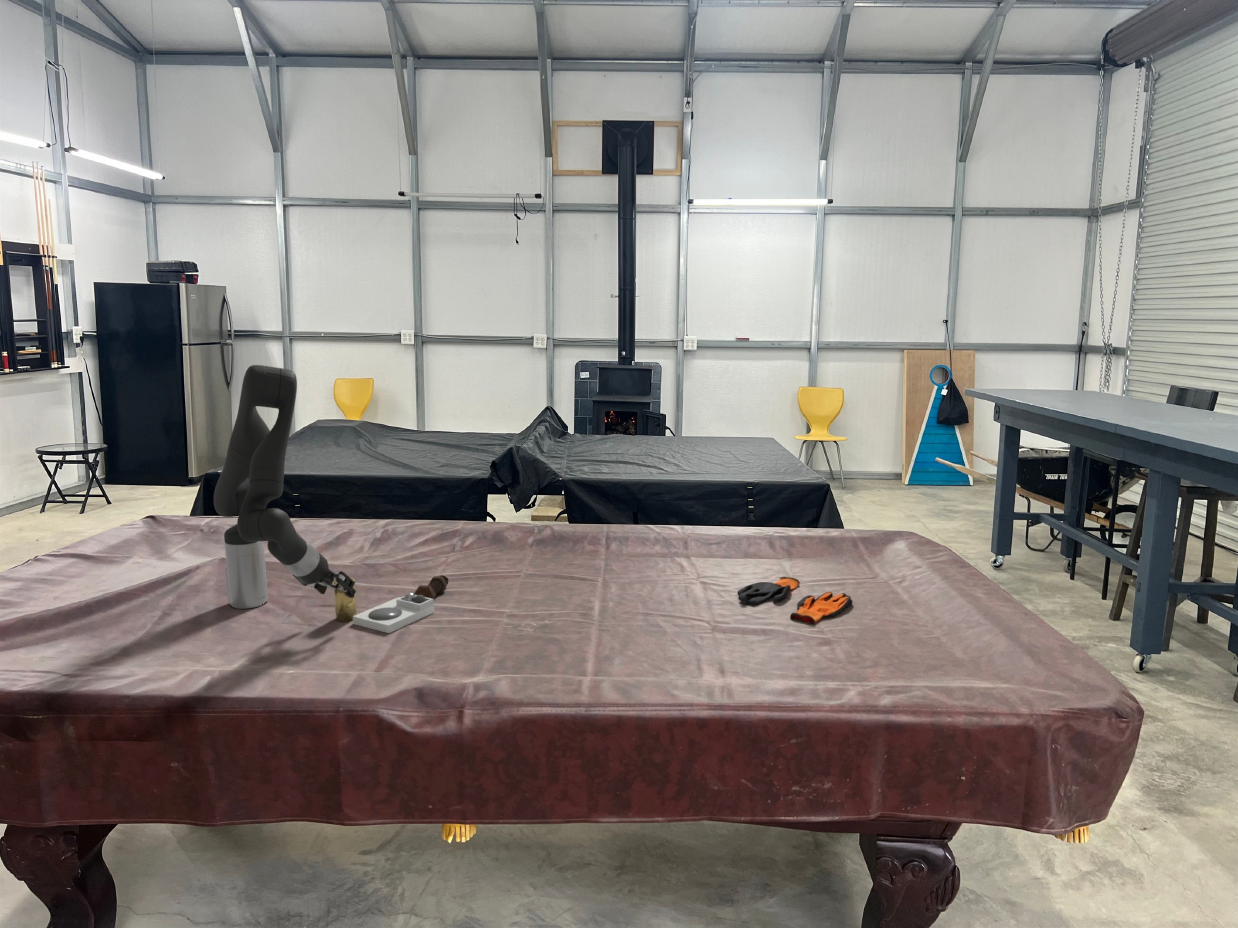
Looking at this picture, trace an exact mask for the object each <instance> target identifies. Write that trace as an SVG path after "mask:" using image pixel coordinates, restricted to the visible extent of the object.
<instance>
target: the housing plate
mask: <svg viewBox="0 0 1238 928" xmlns="http://www.w3.org/2000/svg"><path fill="white" fill-rule="evenodd" d="M404 596H405V595H404ZM404 596H401V597H400V596H399V597H396V598H393V599H391V600H388V601H387V602H384V603H382V604H379V605H376V606H375V607H371V608H369V609H366V610H365V611H362V612H360V613H357V615H355V616H353V620H352V624H353V625H355V626H359V627H363V628H368V629H371V630H375V631H379V632H383V633H386V634H392V633H393V632H395V631H397V630H399V629H401V628H404V627H406V626H408V625H410V624H412V623H415V622H417V621H419V620H421V619H423V618H425V617H428V616H430V615H432V614H434V613H435V605H434V604H435V603H434V601H435V600H433V599H431V598H427V597H425V598H426V601H425V602H423V603H420V604H418V603H414V602H410V601H405V600H404ZM415 596H417V595H415Z"/></svg>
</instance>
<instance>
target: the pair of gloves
mask: <svg viewBox="0 0 1238 928" xmlns="http://www.w3.org/2000/svg"><path fill="white" fill-rule="evenodd" d="M800 584H801V583H800V581H799V580H798V578H795V577H790V576H789V577H786V576H781V577H780V578H779V580H778V581H776V582H770V581H768V582H767V581H760V582H755V583H751V584H748V585H746V586H745V587H743V588H739V590H738V591H737V595H738V600H739V601H740V603H742V604H744V605H751V606H756V605H758V604H761V603H762V602H764V601H767V600H768V599H769V598H771V597H772V595H774V594H776V593H778V594H777V595H774V598H773V599H772V602H773V603H778V602H779V601H781V600H783V599H785V598H787V597H788V596H789V593H790V591H792V590H795V589H796V588H798V587H799V586H800ZM852 604H853V599H852V597H851V596H850V595H848V594H846V593H845V592H841V593H839V594H837V595H836V594H835V595H834V594H833V592H831V591H826V592H824V593H823V594H821V595H820V596H818V597H817V598H816V596H815V595H810V594H808V595H806V596H803V597H802V598H801V599H800V600H799V601H797V605H796V610H797V611H795V612H792V613H791V614H790V616H789V618H790V620H792V621H798V620H799V621H801V622H802V623H804V624H810V625H815V623H817V622H819V621H820V620H821V619H829V618H832V617H835V616H837V615H838V614H839V613H841V612H842V611H843V610H844V609H845V608H848V607H850V606H851V605H852Z"/></svg>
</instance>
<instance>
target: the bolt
mask: <svg viewBox="0 0 1238 928" xmlns="http://www.w3.org/2000/svg"><path fill="white" fill-rule="evenodd" d="M449 580H450V579H449V577H447V576H445V575H437V576H436V575H435V576H433V577H432V578H431V580H430V581H429V583H428V584H427V585H421V584H420V585H418V587H417V588H416V589H415V592H413V594H414V595H423V596H424V597H427V598H431V599H433V601H435V598H436V596H437V594H442V593H444V592H445V590H446V588H447V587H448V584H449Z"/></svg>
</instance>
